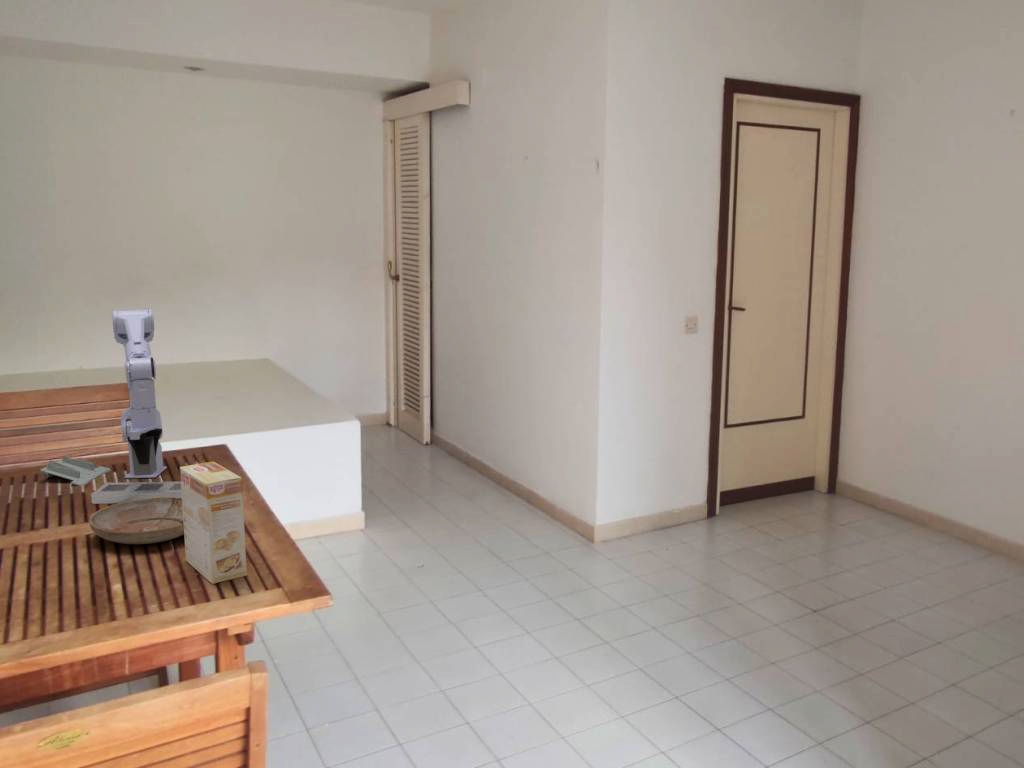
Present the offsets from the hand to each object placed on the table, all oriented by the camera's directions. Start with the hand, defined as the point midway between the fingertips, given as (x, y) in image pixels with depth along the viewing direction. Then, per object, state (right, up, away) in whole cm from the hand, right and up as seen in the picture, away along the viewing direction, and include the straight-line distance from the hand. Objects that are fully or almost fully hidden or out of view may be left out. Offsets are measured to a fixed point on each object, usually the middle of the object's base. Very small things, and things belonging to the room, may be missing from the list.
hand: (147, 461), depth 205 cm
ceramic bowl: (+11, -14, -23) cm, 29 cm away
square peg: (-1, -3, 0) cm, 3 cm away
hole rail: (0, -9, +2) cm, 9 cm away
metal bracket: (-27, -7, +18) cm, 33 cm away
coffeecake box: (+31, -17, -41) cm, 55 cm away
